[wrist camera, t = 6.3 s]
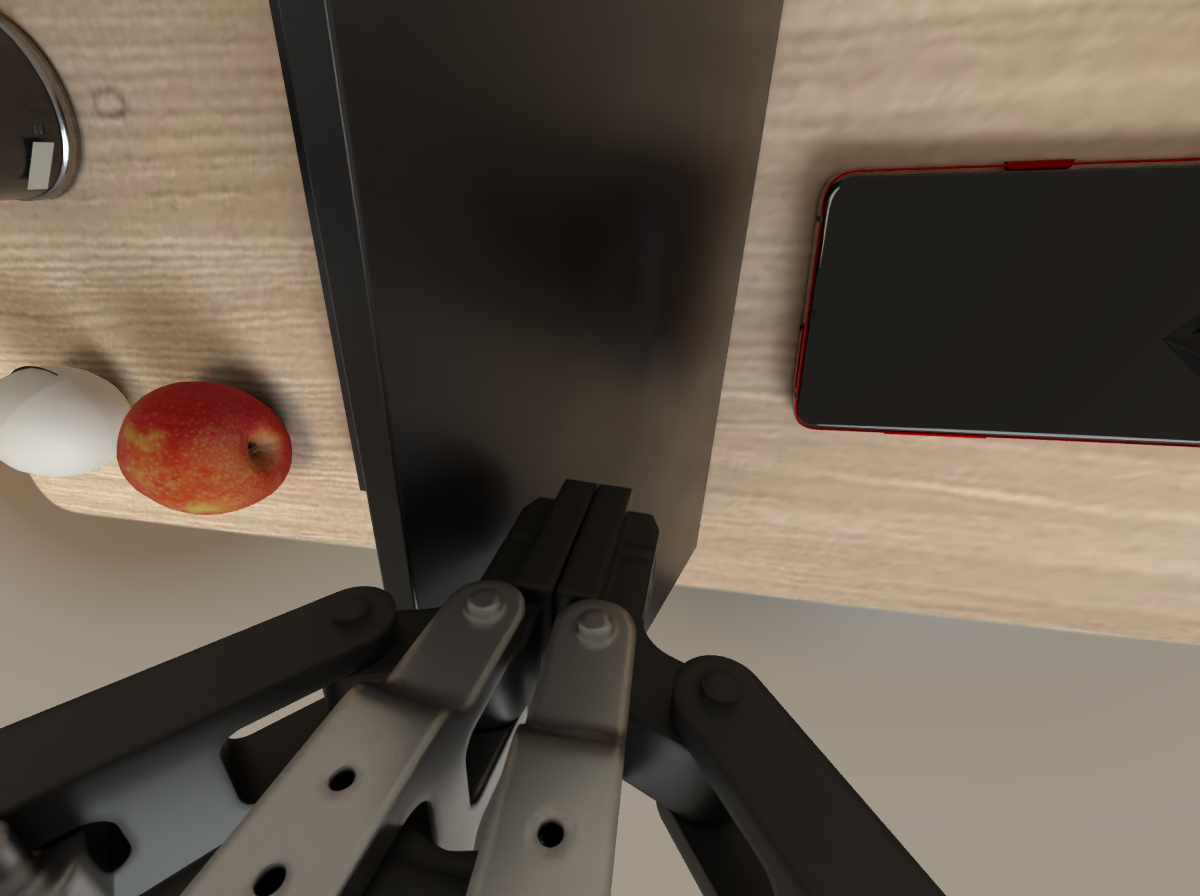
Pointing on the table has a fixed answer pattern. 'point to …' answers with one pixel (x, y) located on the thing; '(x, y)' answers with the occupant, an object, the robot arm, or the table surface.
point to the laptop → (315, 229)
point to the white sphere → (59, 420)
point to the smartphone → (1006, 304)
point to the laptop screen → (529, 255)
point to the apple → (203, 448)
